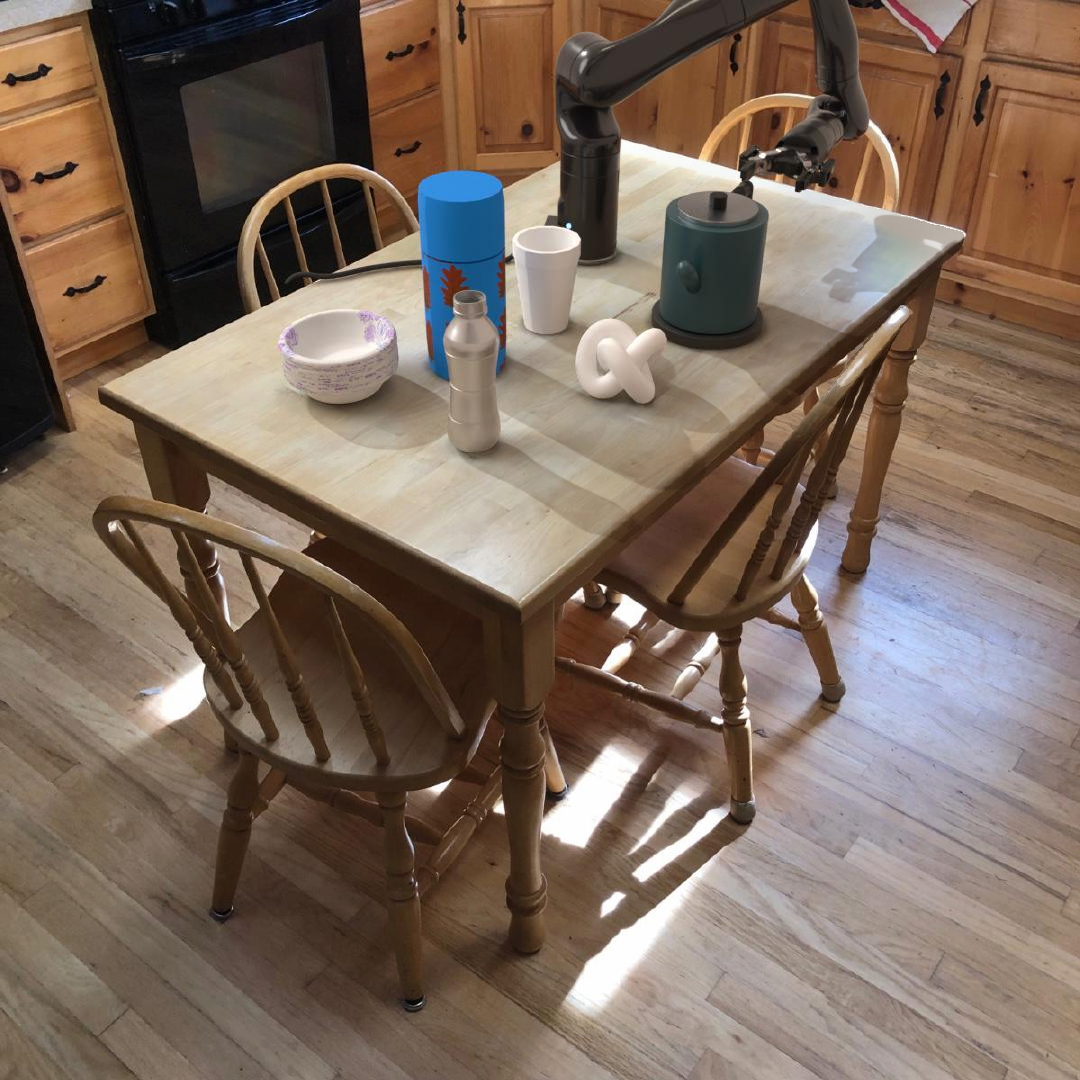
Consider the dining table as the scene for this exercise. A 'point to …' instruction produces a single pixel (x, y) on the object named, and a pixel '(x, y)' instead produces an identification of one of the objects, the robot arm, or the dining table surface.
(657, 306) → the kettle base
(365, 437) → the dining table surface
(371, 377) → the paper bowls
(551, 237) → the foam cup
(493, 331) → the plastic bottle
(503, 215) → the thermos
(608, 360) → the white knot sculpture
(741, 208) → the kettle
